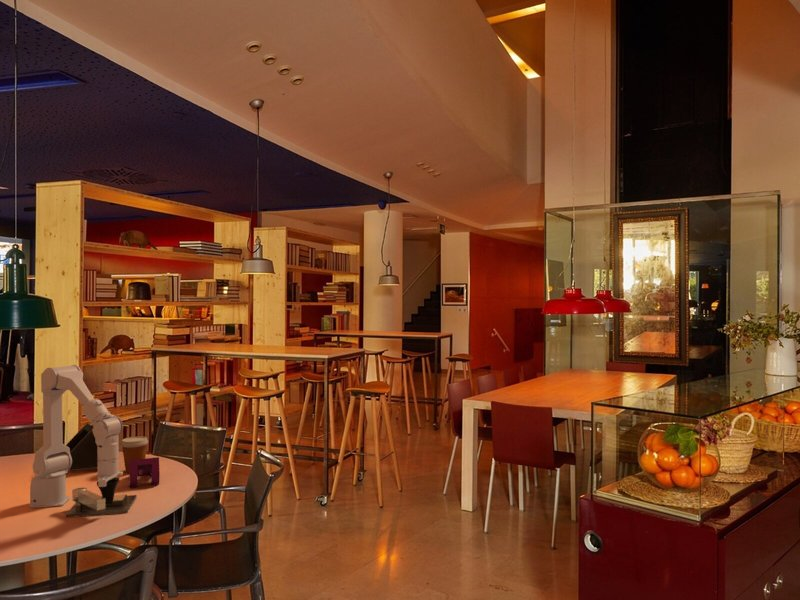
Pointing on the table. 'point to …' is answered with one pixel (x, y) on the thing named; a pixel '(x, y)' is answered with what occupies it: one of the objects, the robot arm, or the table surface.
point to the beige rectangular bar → (88, 498)
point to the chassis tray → (118, 506)
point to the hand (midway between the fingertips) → (108, 503)
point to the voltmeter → (83, 449)
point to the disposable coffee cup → (133, 449)
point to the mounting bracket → (144, 470)
